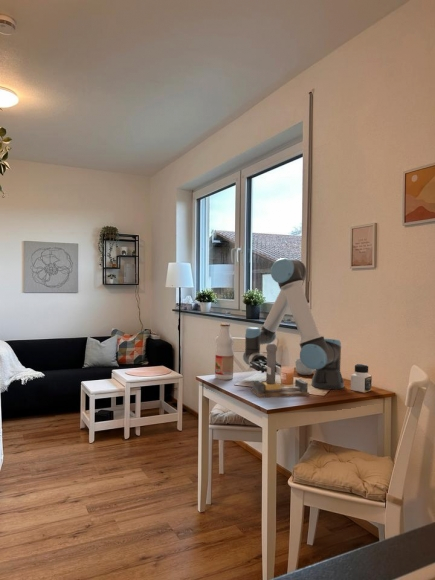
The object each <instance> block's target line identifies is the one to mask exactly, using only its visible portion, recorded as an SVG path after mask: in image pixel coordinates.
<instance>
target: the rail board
mask: <svg viewBox="0 0 435 580" xmlns="http://www.w3.org/2000/svg"><path fill="white" fill-rule="evenodd" d="M261 382H262V381H259V380H252V388H251V390H250V391H251V392H252V393H253V394H255V395H256V396H257V397H258V398H279V397H280V398H281V397H285V398H286V397H306V396H308V397H309V396H310V392H309V391H308V384H309V383H308V382H306V381H304V380H302V379H301V378H300V379H299V378H298V379H295V382H294V384H295V386H281V389H274V390H265V389H264V384H262V383H261Z"/></svg>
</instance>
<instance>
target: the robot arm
mask: <svg viewBox="0 0 435 580" xmlns="http://www.w3.org/2000/svg"><path fill="white" fill-rule="evenodd" d="M270 276H271V278H272V280H273V281H274V282H276V283H277V285H278V288H279V290H280V291H279V293H278V295H277V297H276V299H275V301H274V303H273V304H272V306H271V309H270V310H269V312H268V315H267V317H266V318H265V321H264V323H263V325H262V327H261V328H260V327H255V326H253V327H250V326H249V327H246V329H245V333H244V334H245V336H244V337H245V339H244V340H245V341H244V342H245V343H244V345H245V346H244V347H245V349H244V352H243V354H242V359H243V361H244V363H245V364H247V365H248V366H249V368H250V369H251V368H252V369H254V370H255V371H257V372H261V374H264V373H265V374H266V373H268V374H269V375H271V368H270V367H268V366H267V356H265V355H262V353H261V346H262V345H268V344H269V343H274V342H275V340H276V338H277V336H276V335H277V334H276V332H277V330H278V329H279V327H280V325H281V323H282V320H283V318H284V317H285V315H286V313H287V311H288V309H289V308H290V311H291V315H292V317H293V319H294V320H293V321H294V323H295V325H296V326H295V327H296V328H297V331H298V334H299V338H300V341H299V344H298V345H299V347H300V352H299V359H301V362H302V363H303V364H304V365H305V366H306V367H307V368H309V369H315V371H314V372H313V376H312V379H311V386H313V387H314V388H318V389H323V390H340V389H343V388H344V387H345V385H344V384H345V383H344V380H343V379H344V378H343V375H342V373H341V372H342V371H341V359H342V358H341V355H342V354H341V353H342V343H341V340H340V339H335V338H334V339H333V338H325V337H324V335H322V334H320V332H319V330H318V328H317V325H316V322H315V319H314V316H313V314H312V310H311V309H310V306H309V302H308V300H307V297H306V295H305V291H304V289H303V284H304V282H305V280H306V278H307V268H306V265H305V263H304V262H303V261H301V260H299V259H294V258H293V259H292V258H291V259H290V258H287V257H285V258H279V259H277V260H275V261H274V263H273V264H272V265H271V268H270ZM276 373H277V374H278V375H282V364H280V363H278V362H277V361H276ZM276 373H275V374H276Z"/></svg>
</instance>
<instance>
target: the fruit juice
mask: <svg viewBox="0 0 435 580" xmlns="http://www.w3.org/2000/svg"><path fill="white" fill-rule="evenodd" d="M230 328H231V324H230V323H220V333H219V335H217V337H216V339H215V343H216V348H215V355H214V356H215V357H214V359H215V360H214V361H215V364H214V366H215V367H214V377H215V379H217V380H224V381H226V380H231V379H233V378H234V354H235V352H234V347H233V345H234V343H235V341H234V337H233V335H231V332H230V331H231V330H230Z"/></svg>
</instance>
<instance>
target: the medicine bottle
mask: <svg viewBox="0 0 435 580" xmlns="http://www.w3.org/2000/svg"><path fill="white" fill-rule="evenodd" d="M372 378H373V377H372V375H371V374H369V365H367V364H363V363H362V364H361V363H358V364H355V365H354V373H353V374H350V390H351V391H353V392H360V393H364V394H365V393H367V392H370V391H372Z"/></svg>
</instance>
